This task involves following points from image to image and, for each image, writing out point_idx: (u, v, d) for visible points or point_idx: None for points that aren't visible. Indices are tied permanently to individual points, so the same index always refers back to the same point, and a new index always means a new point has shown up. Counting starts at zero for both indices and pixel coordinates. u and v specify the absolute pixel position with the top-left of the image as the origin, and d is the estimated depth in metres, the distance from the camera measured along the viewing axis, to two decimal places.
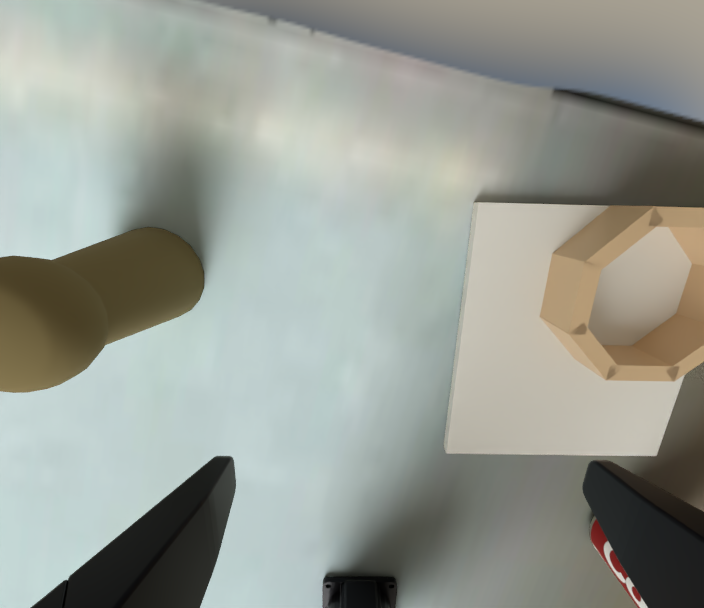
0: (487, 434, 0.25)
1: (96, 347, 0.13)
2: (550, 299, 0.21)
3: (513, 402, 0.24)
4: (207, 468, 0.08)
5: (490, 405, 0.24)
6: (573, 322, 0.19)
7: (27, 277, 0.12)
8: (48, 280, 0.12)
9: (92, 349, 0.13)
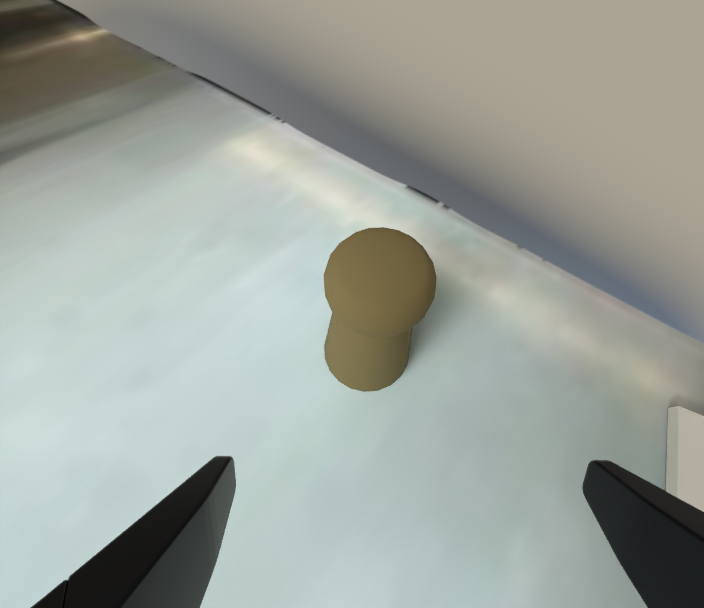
0: None
1: (419, 320, 0.15)
2: None
3: None
4: (207, 468, 0.08)
5: None
6: None
7: None
8: None
9: (420, 317, 0.15)
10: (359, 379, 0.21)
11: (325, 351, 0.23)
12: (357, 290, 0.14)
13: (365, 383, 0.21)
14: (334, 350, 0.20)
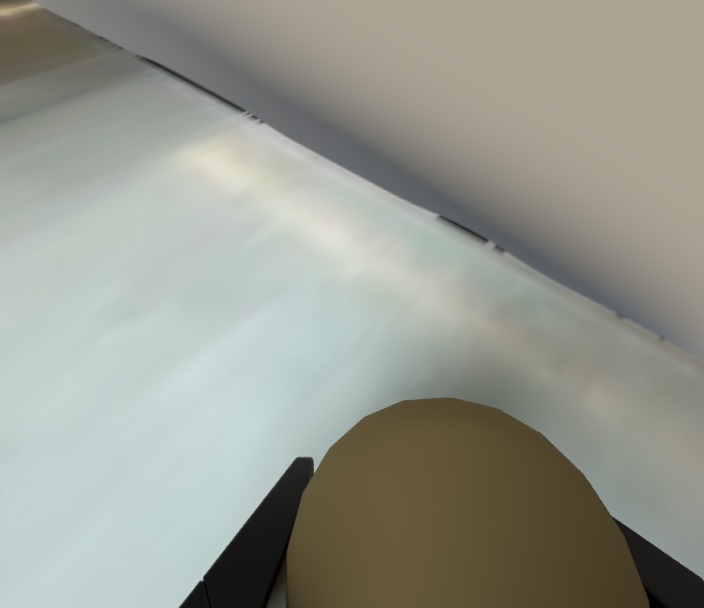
0: None
1: None
2: None
3: None
4: (294, 469, 0.08)
5: None
6: None
7: (580, 472, 0.05)
8: None
9: None
10: None
11: None
12: None
13: None
14: None
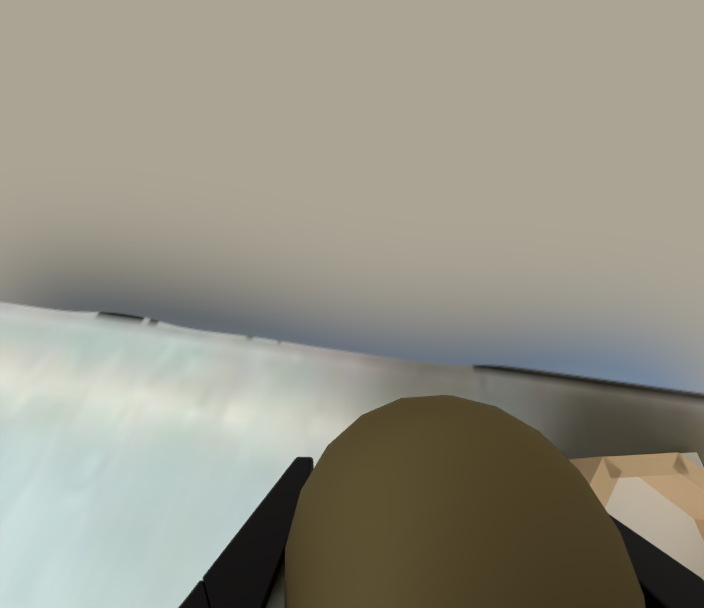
0: None
1: None
2: None
3: None
4: (294, 469, 0.08)
5: None
6: None
7: (577, 469, 0.05)
8: None
9: None
10: None
11: None
12: None
13: None
14: None
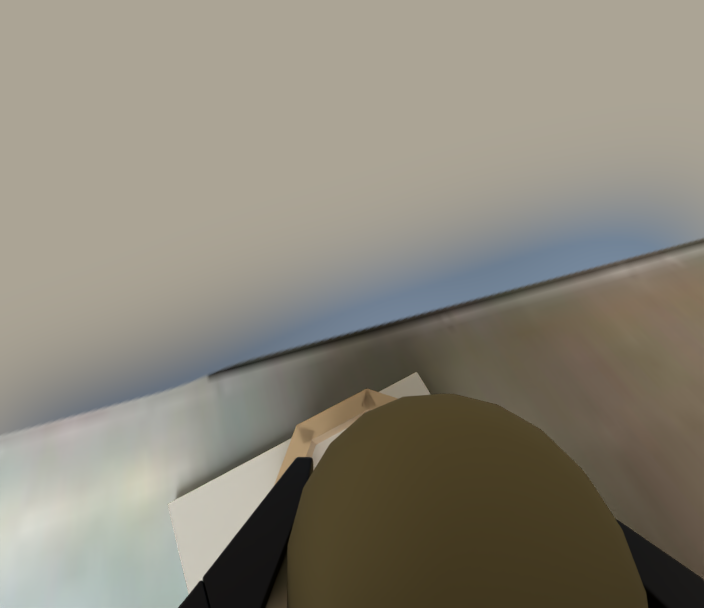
0: None
1: None
2: None
3: None
4: (294, 469, 0.08)
5: None
6: None
7: (579, 467, 0.05)
8: None
9: None
10: None
11: None
12: None
13: None
14: None
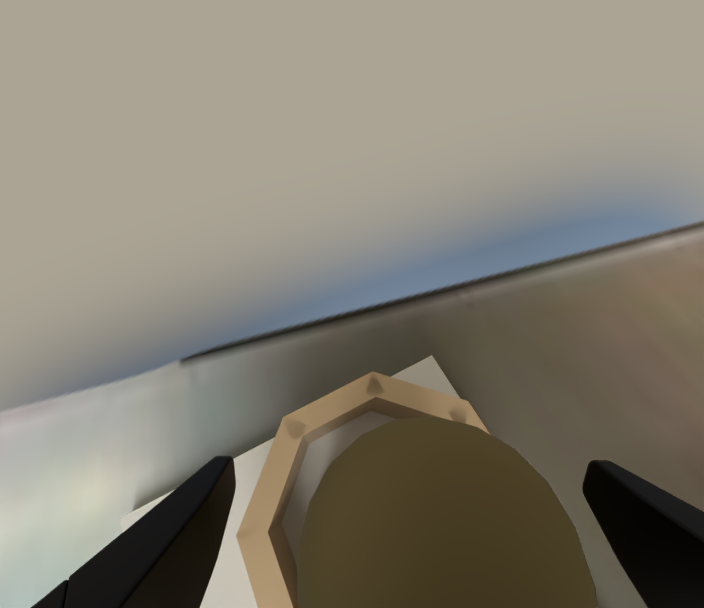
0: None
1: None
2: None
3: None
4: (207, 468, 0.08)
5: None
6: None
7: (546, 482, 0.06)
8: None
9: None
10: None
11: None
12: None
13: None
14: None
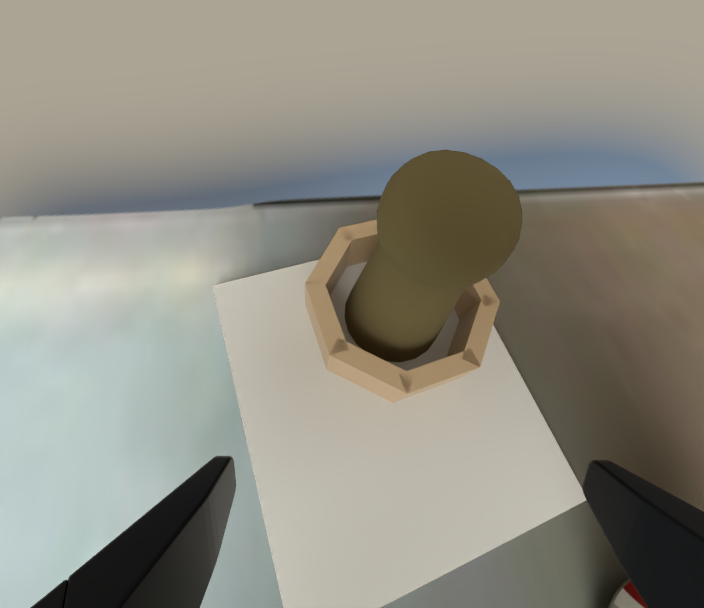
0: (344, 573, 0.15)
1: (491, 273, 0.12)
2: (319, 342, 0.19)
3: (355, 497, 0.17)
4: (207, 468, 0.08)
5: (324, 515, 0.16)
6: (327, 341, 0.17)
7: None
8: None
9: (494, 269, 0.12)
10: (384, 345, 0.18)
11: (346, 309, 0.20)
12: (428, 217, 0.11)
13: (390, 351, 0.18)
14: (363, 306, 0.17)
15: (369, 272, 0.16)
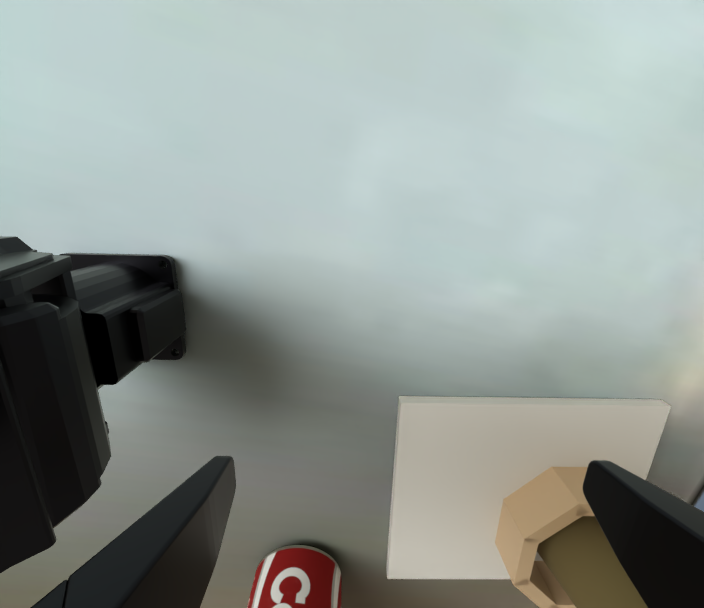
0: (423, 439, 0.23)
1: None
2: (578, 475, 0.23)
3: (460, 458, 0.23)
4: (207, 468, 0.08)
5: (459, 438, 0.23)
6: None
7: None
8: None
9: None
10: None
11: None
12: None
13: None
14: (603, 539, 0.21)
15: None
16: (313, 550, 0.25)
